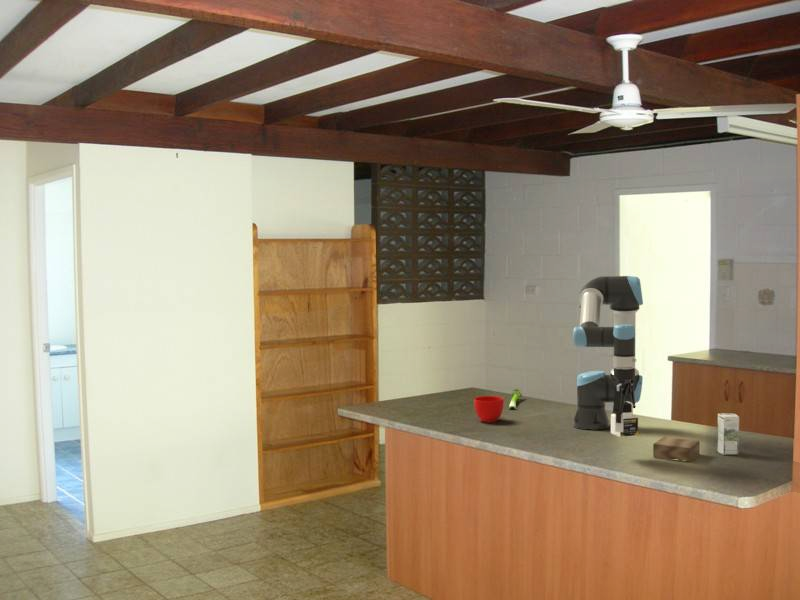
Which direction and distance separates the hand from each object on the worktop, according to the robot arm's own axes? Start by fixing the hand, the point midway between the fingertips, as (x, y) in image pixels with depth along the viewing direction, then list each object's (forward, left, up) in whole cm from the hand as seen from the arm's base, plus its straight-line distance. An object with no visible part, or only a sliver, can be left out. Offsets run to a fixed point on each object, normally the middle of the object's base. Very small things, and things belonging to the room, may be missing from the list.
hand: (624, 428), depth 307 cm
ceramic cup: (-74, +37, -11) cm, 83 cm away
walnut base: (+15, +13, -11) cm, 22 cm away
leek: (-80, +77, -11) cm, 112 cm away
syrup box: (+30, +26, -11) cm, 41 cm away
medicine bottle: (0, 0, -2) cm, 2 cm away
